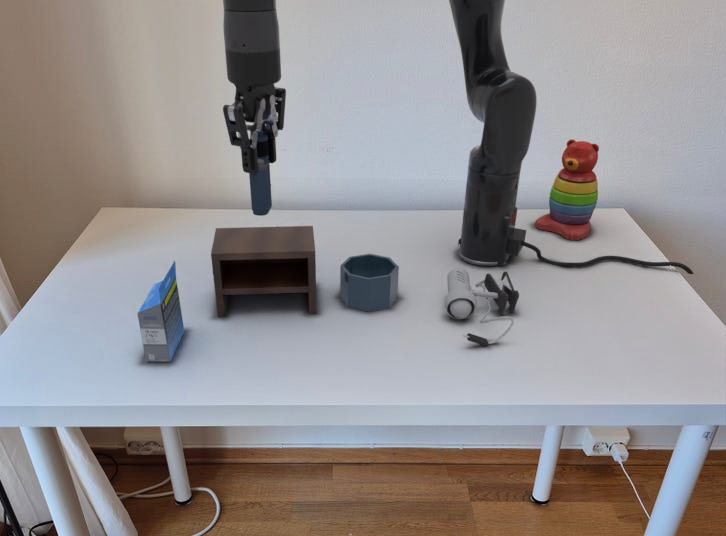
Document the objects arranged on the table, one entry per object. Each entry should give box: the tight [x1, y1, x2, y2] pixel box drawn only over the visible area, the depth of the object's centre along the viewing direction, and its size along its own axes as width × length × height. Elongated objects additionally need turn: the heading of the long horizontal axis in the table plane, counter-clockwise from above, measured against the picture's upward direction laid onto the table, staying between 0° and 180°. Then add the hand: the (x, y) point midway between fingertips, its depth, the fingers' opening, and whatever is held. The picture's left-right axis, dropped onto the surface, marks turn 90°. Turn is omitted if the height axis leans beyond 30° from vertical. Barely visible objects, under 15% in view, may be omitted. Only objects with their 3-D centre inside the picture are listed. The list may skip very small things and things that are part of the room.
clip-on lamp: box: [444, 266, 520, 347], centre depth 112 cm, size 12×6×18 cm
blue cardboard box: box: [136, 260, 185, 363], centre depth 103 cm, size 9×4×12 cm, turn 178°
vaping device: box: [248, 129, 273, 217], centre depth 106 cm, size 3×5×12 cm, turn 174°
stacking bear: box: [534, 139, 600, 241], centre depth 141 cm, size 11×10×18 cm
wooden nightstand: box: [210, 225, 318, 318], centre depth 115 cm, size 16×10×11 cm, turn 95°
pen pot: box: [339, 253, 400, 313], centre depth 118 cm, size 9×9×6 cm
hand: (260, 166), depth 106 cm, fingers closed on vaping device, 5 cm apart
